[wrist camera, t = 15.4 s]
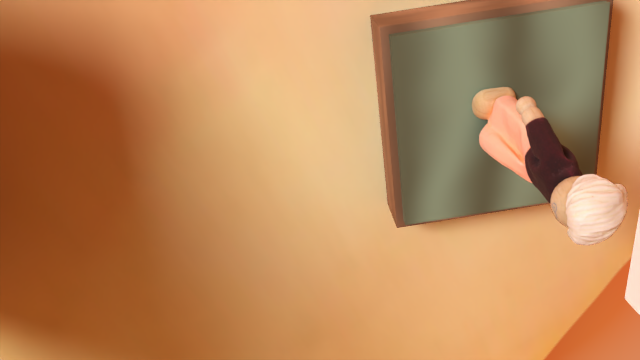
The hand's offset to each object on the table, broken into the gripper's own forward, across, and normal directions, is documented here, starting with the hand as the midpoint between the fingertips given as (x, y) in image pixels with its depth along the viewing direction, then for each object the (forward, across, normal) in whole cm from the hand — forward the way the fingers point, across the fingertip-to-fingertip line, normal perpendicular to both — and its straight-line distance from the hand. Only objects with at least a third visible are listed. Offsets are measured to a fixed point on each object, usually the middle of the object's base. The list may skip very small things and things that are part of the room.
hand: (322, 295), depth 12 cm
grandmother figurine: (+24, +14, -8) cm, 29 cm away
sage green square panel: (+28, +14, -8) cm, 32 cm away
